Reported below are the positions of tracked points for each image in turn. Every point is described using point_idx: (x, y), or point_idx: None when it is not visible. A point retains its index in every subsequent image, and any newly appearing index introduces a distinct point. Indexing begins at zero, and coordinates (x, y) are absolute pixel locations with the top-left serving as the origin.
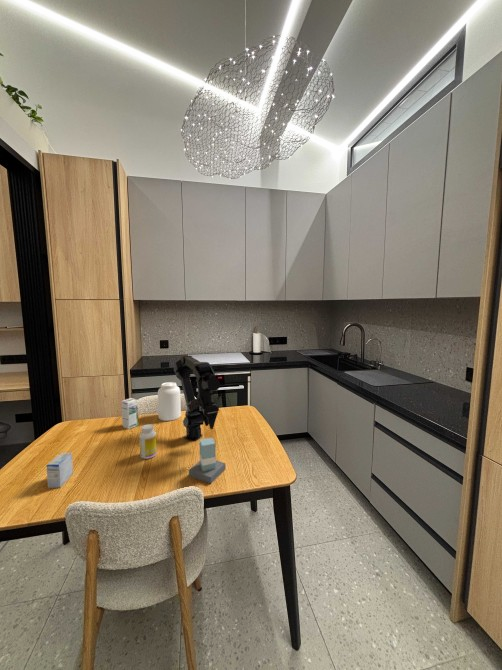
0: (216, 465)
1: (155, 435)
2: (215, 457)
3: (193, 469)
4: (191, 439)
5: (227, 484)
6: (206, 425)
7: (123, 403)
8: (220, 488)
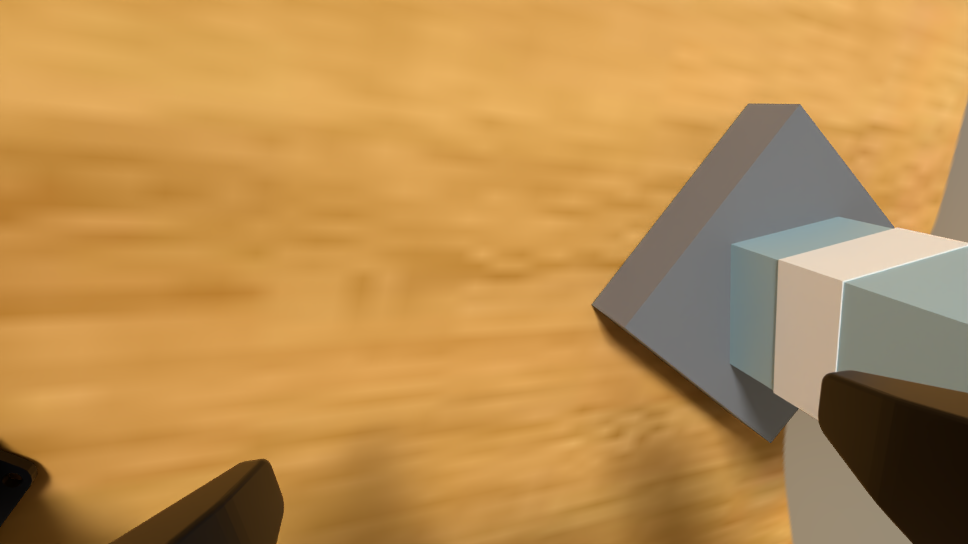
0: (800, 204)
1: None
2: (962, 243)
3: (778, 407)
4: (4, 520)
5: (918, 118)
6: (281, 503)
7: None
8: (930, 178)
